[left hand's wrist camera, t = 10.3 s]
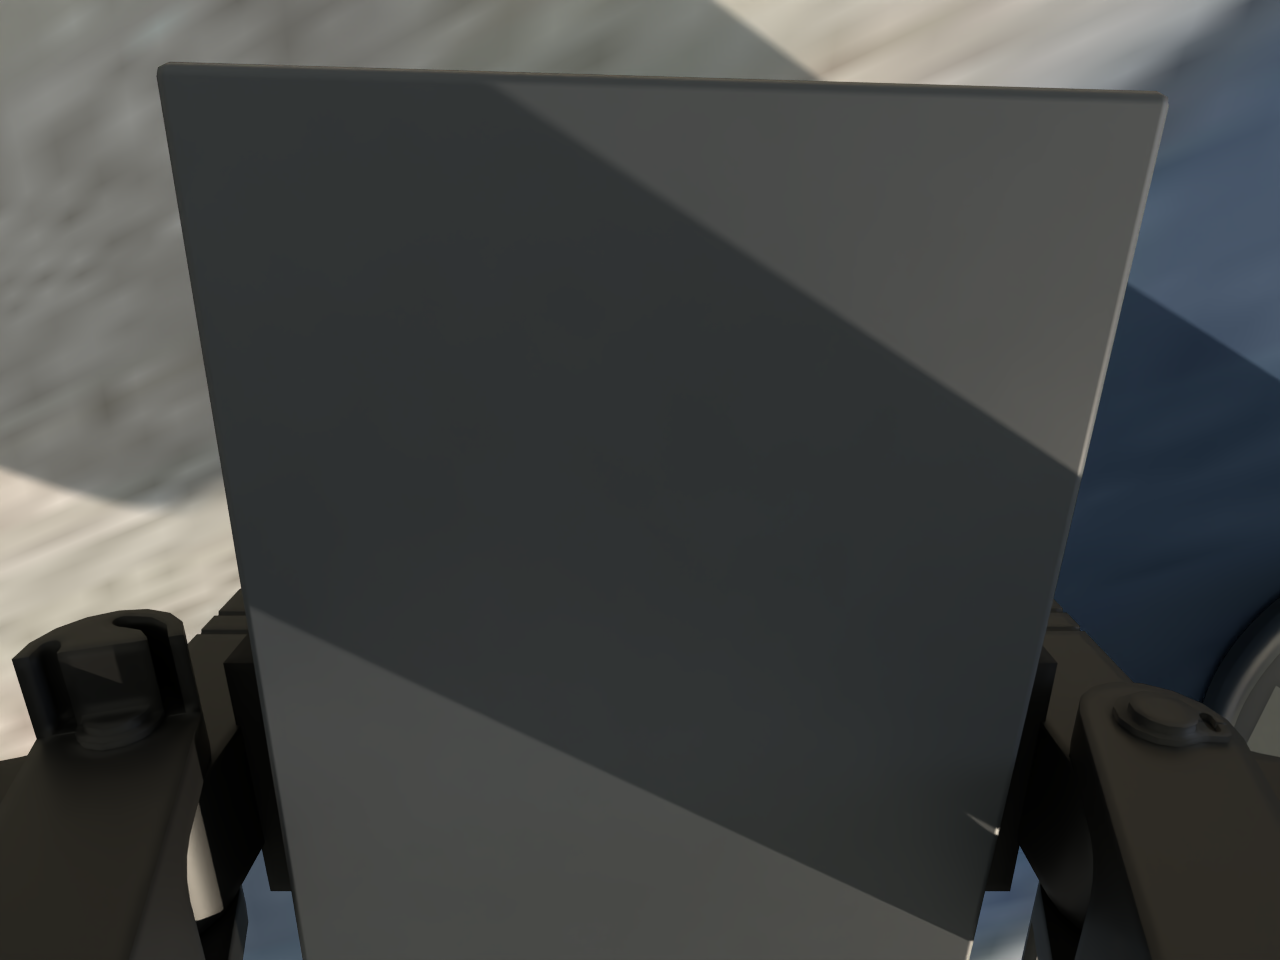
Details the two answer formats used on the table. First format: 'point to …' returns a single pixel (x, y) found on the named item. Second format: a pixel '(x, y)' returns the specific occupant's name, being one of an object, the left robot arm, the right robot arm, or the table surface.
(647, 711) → the beam
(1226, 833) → the left robot arm
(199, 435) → the table surface
